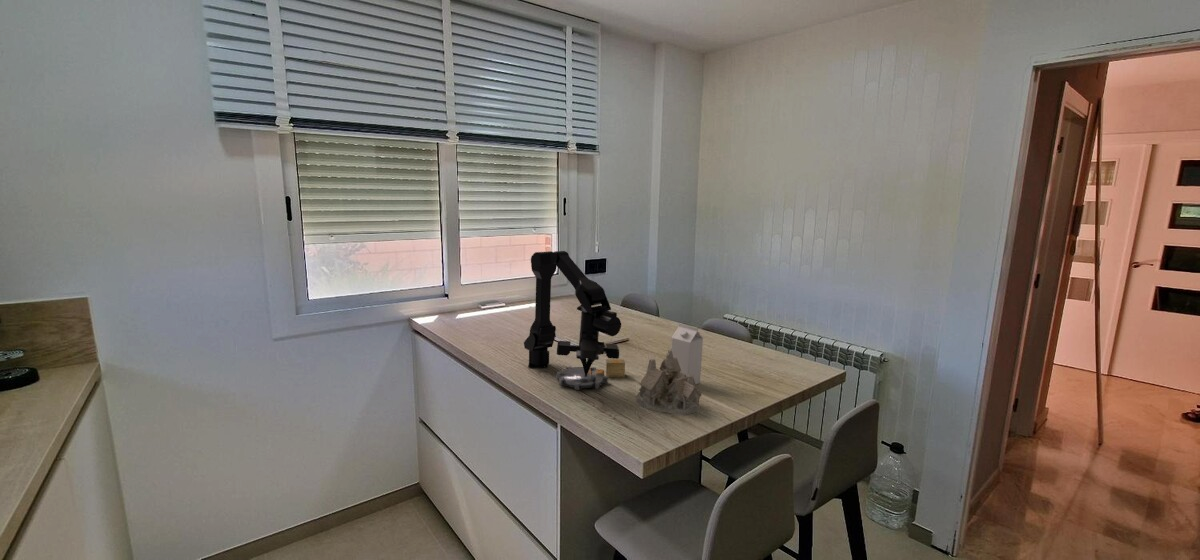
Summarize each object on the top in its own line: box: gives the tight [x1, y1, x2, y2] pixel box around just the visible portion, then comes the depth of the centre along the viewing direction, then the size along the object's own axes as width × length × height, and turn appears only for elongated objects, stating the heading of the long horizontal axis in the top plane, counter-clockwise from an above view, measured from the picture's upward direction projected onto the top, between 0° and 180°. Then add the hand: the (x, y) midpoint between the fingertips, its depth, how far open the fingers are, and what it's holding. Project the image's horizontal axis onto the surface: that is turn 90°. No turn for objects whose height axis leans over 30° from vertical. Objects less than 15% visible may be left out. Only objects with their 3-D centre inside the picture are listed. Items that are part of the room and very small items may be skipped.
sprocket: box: [555, 366, 609, 391], centre depth 151 cm, size 16×16×6 cm
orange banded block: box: [605, 358, 626, 378], centre depth 158 cm, size 6×4×5 cm, turn 93°
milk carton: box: [670, 322, 704, 385], centre depth 152 cm, size 7×7×19 cm
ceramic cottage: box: [635, 349, 703, 416], centre depth 135 cm, size 16×16×15 cm
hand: (585, 376), depth 146 cm, fingers closed
